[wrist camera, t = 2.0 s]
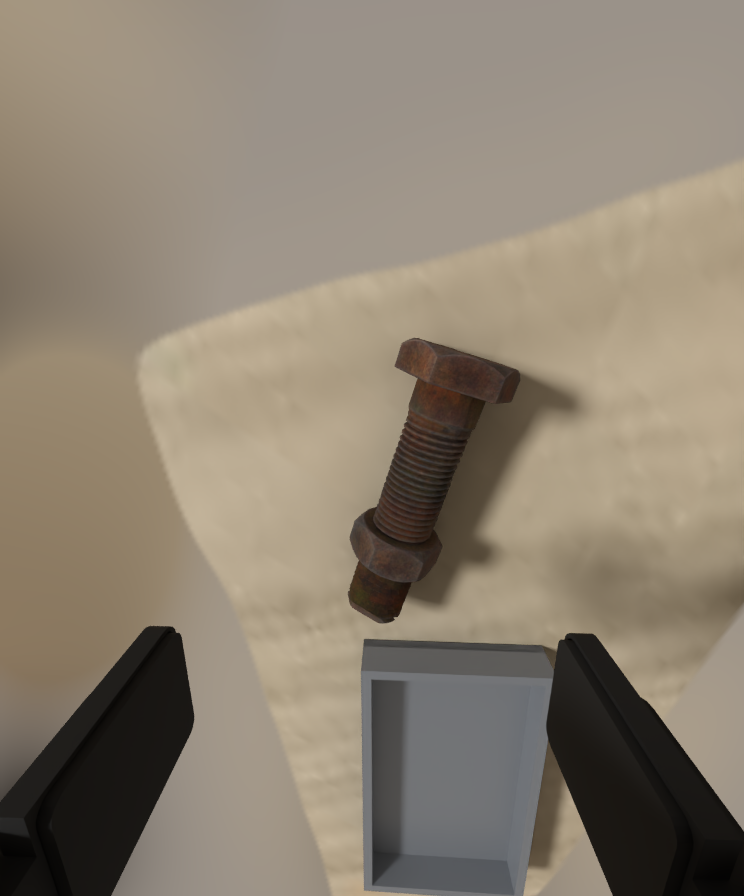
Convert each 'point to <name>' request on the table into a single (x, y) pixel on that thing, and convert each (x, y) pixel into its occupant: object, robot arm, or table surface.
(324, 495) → the table surface
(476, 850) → the parts tray
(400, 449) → the bolt
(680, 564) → the table surface
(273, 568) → the table surface
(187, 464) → the table surface
